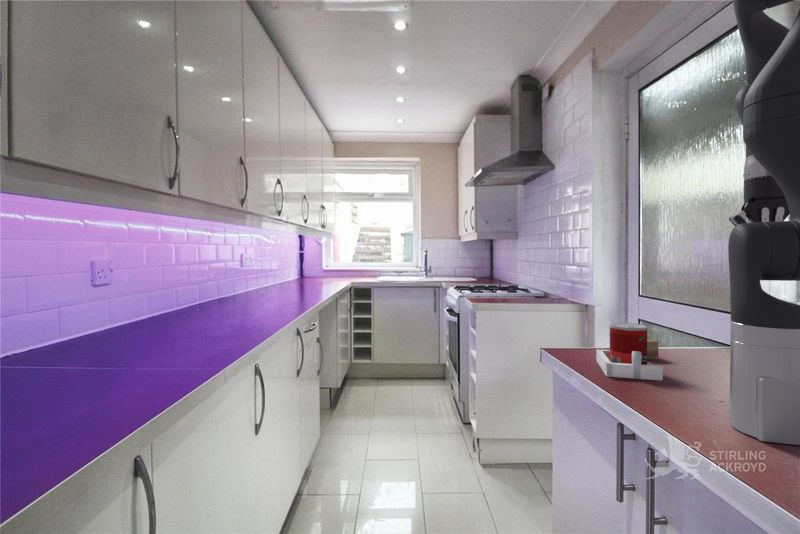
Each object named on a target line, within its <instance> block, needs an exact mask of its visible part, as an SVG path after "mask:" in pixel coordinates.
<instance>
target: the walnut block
mask: <svg viewBox="0 0 800 534" xmlns="http://www.w3.org/2000/svg"><path fill="white" fill-rule="evenodd" d="M648 359H654V360H659V341H658V340H656V339H653V338H650V337H647V361H648Z"/></svg>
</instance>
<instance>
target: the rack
mask: <svg viewBox="0 0 800 534" xmlns="http://www.w3.org/2000/svg"><path fill="white" fill-rule="evenodd" d="M595 360H596V362H597V365H599V367H600V369H601V370H602V371H603V373H604V375H605V377H610V378H620V379H621V378H622V379H623V378H625V379H633V380H634V379H635V380H649V381H661V382H662V381H663V380H664V379H663V377H664V375H663V373H664V371H663V370H664V369H663V368H664V367H663V366H661V365H655V364H654V365H651V364H647V365H641V352H639V351H632V364H624V363H611V362H610V349H599V348H596V349H595Z"/></svg>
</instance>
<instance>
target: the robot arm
mask: <svg viewBox="0 0 800 534" xmlns="http://www.w3.org/2000/svg"><path fill="white" fill-rule="evenodd" d="M793 1H795V0H732V4H733V11H734V15H735V20H736V23H737V28H738V32H739V36H740V39H741V43H742V45H743V50H744V54H745V55H744V56H745V82H746V85H744V86H742V87H741V88H740V89H739V90H738V93H737V94H736V96H735V98H734V104H735V109H736V112H737V114H738V117H739V119H740V121H741V124H742V138H743V142H744V144H745V162H744V166H743V175H742V176H743V205H742V206H741V209H740V212H738V213H737V214H735V215H732V216H731V215H730V216H729V217H728V220H729V222H730V223H731V224H732V225H733V226H734V228H732V230H731V232H730V235H729V238H728V245H727V246H728V247H727V251H728V253H727V256H728V269H729V286H730V287H729V288H730V289H729V291H730V292H729V297H730V298H729V301H730V302H729V303H730V330H729V331H730V333H729V335H730V341H729V342H730V343H729V345H730V346H729V349H730V351H729V352H730V353H729V424H730V426H731V427H733V429H735V430H737V431H739V432H740V433H743V434H745V435H748V436H751V437H753V438H756V439H757V440H759V441H761V442H766V443H767V442H768V443H776V444H785V445H793V446H794V445H795V446H800V304H797V303H793V302H790V301H787V300H784V299H780V298H777V297H775V296H773V295H771V294H770V293H768V292H766V291H765V290H763V288H762V285H761V281H775V282H777V281H779V282H780V281H788V282H789V281H790V282H792V281H795V282H800V8H799V10H798V12H797V15H796V16H795V19H794V20H793V23H792V25H791V27H790V28H788V27H787V26H785V25H783V24H782V23H780V22H779V21H777V20H775V19H773V18H772V17H770V16H769V15H768V14H766V13H765V12H764V11H765V10H769V9H771V8H776V7H778V6H781V5H784V4H789V3H790V2H793ZM787 218H788V220H786V219H787ZM747 220H748V221H749V222H747Z"/></svg>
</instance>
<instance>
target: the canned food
mask: <svg viewBox="0 0 800 534" xmlns="http://www.w3.org/2000/svg"><path fill="white" fill-rule="evenodd" d="M647 338H648V326H647V325H644V324H641V323H633V322H612V323H610V324H609V350H610V362H611V363H624V364H632V351H639V352H641V365H648V360H647Z"/></svg>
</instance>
